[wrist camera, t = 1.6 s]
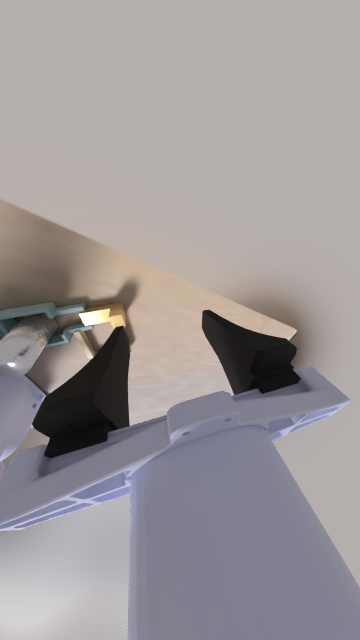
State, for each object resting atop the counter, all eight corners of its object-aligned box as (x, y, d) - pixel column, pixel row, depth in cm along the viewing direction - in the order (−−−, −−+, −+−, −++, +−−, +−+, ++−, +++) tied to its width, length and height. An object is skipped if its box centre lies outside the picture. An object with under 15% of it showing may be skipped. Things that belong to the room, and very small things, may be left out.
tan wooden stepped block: (125, 313, 23) (125, 326, 20) (87, 320, 22) (81, 336, 19) (121, 302, 22) (121, 314, 19) (81, 309, 21) (74, 323, 18)
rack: (131, 346, 27) (131, 351, 26) (92, 355, 26) (91, 361, 25) (121, 317, 24) (121, 322, 22) (76, 327, 22) (73, 332, 21)
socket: (96, 328, 23) (91, 348, 20) (25, 344, 21) (5, 368, 18) (81, 297, 20) (72, 313, 17) (-4, 310, 18) (-36, 332, 15)
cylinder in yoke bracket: (62, 330, 22) (39, 370, 16) (34, 336, 21) (-2, 380, 15) (48, 309, 20) (16, 346, 14) (17, 315, 19) (-32, 356, 13)
